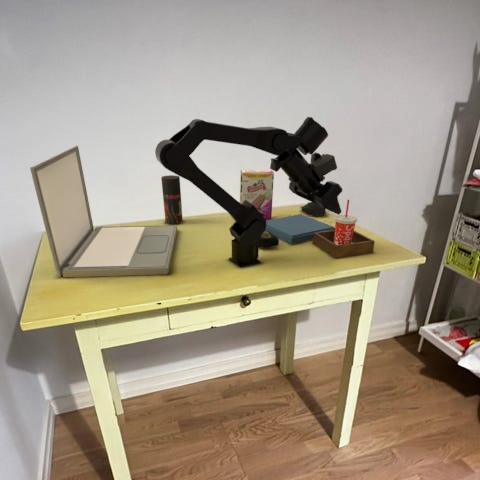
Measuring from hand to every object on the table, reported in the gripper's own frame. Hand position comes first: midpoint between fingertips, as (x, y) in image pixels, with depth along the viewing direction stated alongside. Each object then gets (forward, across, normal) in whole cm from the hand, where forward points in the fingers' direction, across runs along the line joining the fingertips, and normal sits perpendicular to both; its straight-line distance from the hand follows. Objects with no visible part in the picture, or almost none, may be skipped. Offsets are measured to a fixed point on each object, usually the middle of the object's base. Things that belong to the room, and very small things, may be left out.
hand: (330, 208), depth 110 cm
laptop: (-30, +20, +47) cm, 59 cm away
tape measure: (-2, +9, +19) cm, 21 cm away
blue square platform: (+8, +18, +9) cm, 22 cm away
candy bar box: (+3, +35, +14) cm, 38 cm away
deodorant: (-16, +42, +34) cm, 56 cm away
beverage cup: (+12, 0, +5) cm, 13 cm away
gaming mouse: (+20, +37, -2) cm, 42 cm away
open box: (+12, 0, +5) cm, 13 cm away
